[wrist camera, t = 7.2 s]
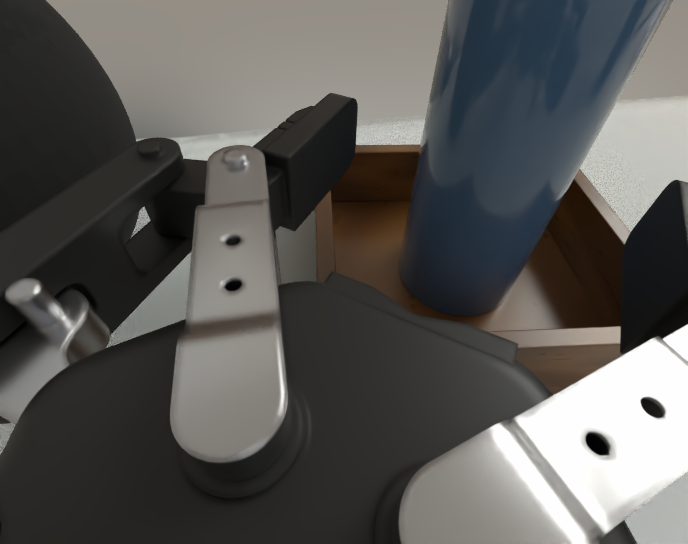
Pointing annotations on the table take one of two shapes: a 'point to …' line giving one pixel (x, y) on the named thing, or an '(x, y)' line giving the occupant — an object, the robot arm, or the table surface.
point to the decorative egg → (52, 110)
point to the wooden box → (528, 292)
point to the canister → (510, 136)
